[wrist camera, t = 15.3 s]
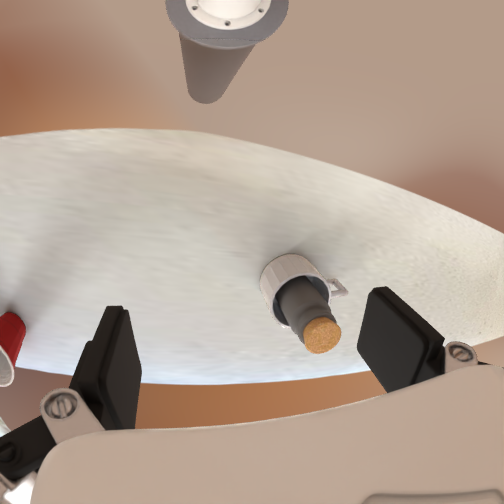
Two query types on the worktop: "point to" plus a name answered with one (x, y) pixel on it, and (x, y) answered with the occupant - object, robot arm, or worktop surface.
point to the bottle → (308, 314)
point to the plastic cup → (10, 345)
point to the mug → (286, 270)
